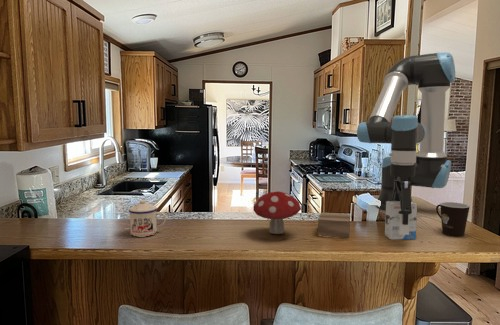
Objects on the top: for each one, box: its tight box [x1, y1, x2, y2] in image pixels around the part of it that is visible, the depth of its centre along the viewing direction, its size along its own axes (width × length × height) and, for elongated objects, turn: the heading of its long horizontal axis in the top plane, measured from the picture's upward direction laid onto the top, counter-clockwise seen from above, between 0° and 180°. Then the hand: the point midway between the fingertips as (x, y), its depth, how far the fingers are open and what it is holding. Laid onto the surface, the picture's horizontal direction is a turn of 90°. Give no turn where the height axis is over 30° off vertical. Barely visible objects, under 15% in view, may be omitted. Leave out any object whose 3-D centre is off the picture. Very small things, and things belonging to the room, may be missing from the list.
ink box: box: [384, 201, 418, 240], centre depth 118 cm, size 8×5×12 cm, turn 90°
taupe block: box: [317, 211, 351, 239], centre depth 123 cm, size 10×10×6 cm
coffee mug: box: [435, 201, 470, 238], centre depth 123 cm, size 12×9×10 cm
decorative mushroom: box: [253, 190, 302, 235], centre depth 121 cm, size 16×16×15 cm
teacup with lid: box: [128, 199, 167, 235], centre depth 123 cm, size 12×9×12 cm
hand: (400, 228), depth 119 cm, fingers open, 13 cm apart
